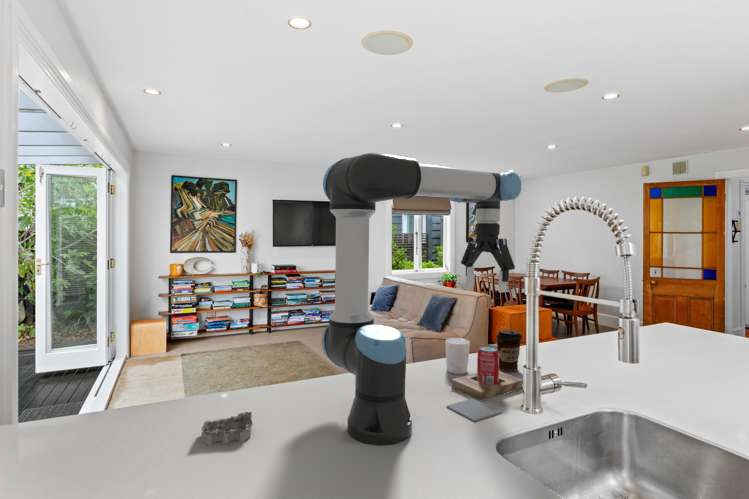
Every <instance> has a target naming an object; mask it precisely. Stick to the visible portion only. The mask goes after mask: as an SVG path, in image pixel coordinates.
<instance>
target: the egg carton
mask: <svg viewBox="0 0 749 499" xmlns="http://www.w3.org/2000/svg"><path fill="white" fill-rule="evenodd" d="M252 417H253V414H252V411H249V412H248V411H245V412H240V413H238V414H237V416H230V417H227V418H219V419H216V420H212V421H211V420H205V421H204V423H203V425H202V427H201V429H200V430H201V431H202V432H201V443H203V444H206V445H207V446H208V445H209V446H210V445H213V444H214V443H215V442H222V443H223V444H228V443H230V442H231V441H235V440H236V441H239V442H240V443H241V442H246V440H248V439H251V437H252V436H251V435H252V433H251V432H252V427H253V421H252ZM243 428H244V429H243ZM226 430H228V431H226Z"/></svg>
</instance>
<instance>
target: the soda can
mask: <svg viewBox="0 0 749 499" xmlns="http://www.w3.org/2000/svg"><path fill="white" fill-rule="evenodd" d="M476 358H477V361H476V362H477V363H476V365H477V366H476V373H477V381H478V382H480V383H482V384H485V385H487V386H491V385H494V384H498V383H499V371H500V369H499V352H498V349H497V347H495V346H488V345H482V346H479V349H478V351H477V357H476Z"/></svg>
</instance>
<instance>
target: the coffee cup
mask: <svg viewBox="0 0 749 499" xmlns="http://www.w3.org/2000/svg"><path fill="white" fill-rule="evenodd" d="M522 340H523V335H522V334H521V332H520V331H519V330H516V329H501V330H498V333H497V334H496V343H497V344H496V345H497V346H496V348H497V349H498V352H499V371H502V372H511V373H512V372H517V371H519V368H518V366H519V365H518V363H519V357H520V352H521V351H520V348H521V341H522Z"/></svg>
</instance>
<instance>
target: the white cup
mask: <svg viewBox="0 0 749 499" xmlns="http://www.w3.org/2000/svg"><path fill="white" fill-rule="evenodd" d="M470 343H471V341H470V340H468V339H465V338H461V337H460V338H457V337H451V338H446V339H445V359H446V360H445V362H446V371H447V372H449V373H452V374H456V375H463V374H466V373H467V372H468V366H469V357H470V356H469V355H470V346H471V344H470Z"/></svg>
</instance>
